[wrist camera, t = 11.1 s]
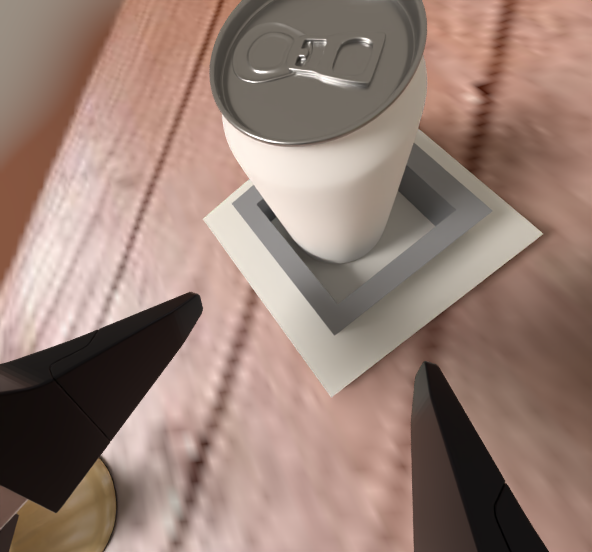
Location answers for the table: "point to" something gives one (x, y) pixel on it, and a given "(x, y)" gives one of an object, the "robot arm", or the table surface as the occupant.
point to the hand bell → (70, 519)
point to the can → (323, 111)
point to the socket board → (375, 264)
